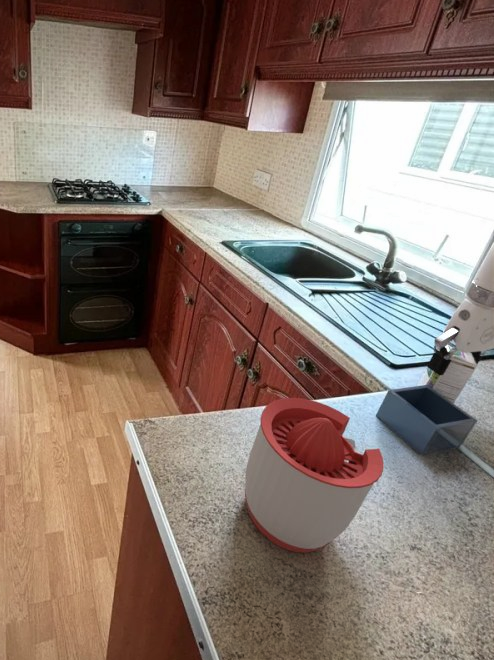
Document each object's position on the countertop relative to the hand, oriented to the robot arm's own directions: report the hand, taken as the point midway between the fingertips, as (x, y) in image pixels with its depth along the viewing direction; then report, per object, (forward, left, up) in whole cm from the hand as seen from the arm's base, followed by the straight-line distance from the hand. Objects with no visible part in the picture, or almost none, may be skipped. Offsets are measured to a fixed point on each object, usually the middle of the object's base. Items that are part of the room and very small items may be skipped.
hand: (449, 368), depth 86 cm
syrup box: (0, 0, -11) cm, 11 cm away
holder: (+10, +5, -10) cm, 15 cm away
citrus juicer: (+49, +16, -11) cm, 53 cm away
